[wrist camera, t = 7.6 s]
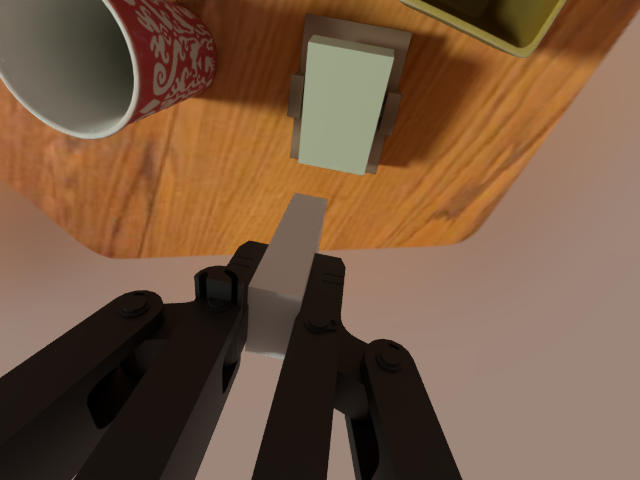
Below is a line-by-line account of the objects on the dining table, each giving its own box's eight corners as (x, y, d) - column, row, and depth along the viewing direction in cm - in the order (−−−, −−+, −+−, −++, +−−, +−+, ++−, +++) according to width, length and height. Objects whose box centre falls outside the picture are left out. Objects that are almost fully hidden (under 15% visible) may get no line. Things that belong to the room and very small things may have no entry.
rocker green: (313, 34, 22) (308, 41, 21) (394, 49, 22) (394, 57, 21) (302, 151, 29) (298, 162, 27) (365, 163, 28) (363, 175, 27)
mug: (248, 47, 28) (165, 46, 17) (198, 126, 32) (104, 169, 21) (118, -77, 25) (-94, -185, 14) (81, 28, 29) (-107, 13, 18)
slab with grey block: (309, 16, 27) (297, 9, 22) (410, 34, 26) (419, 31, 22) (294, 148, 32) (282, 164, 28) (377, 164, 32) (378, 183, 28)
